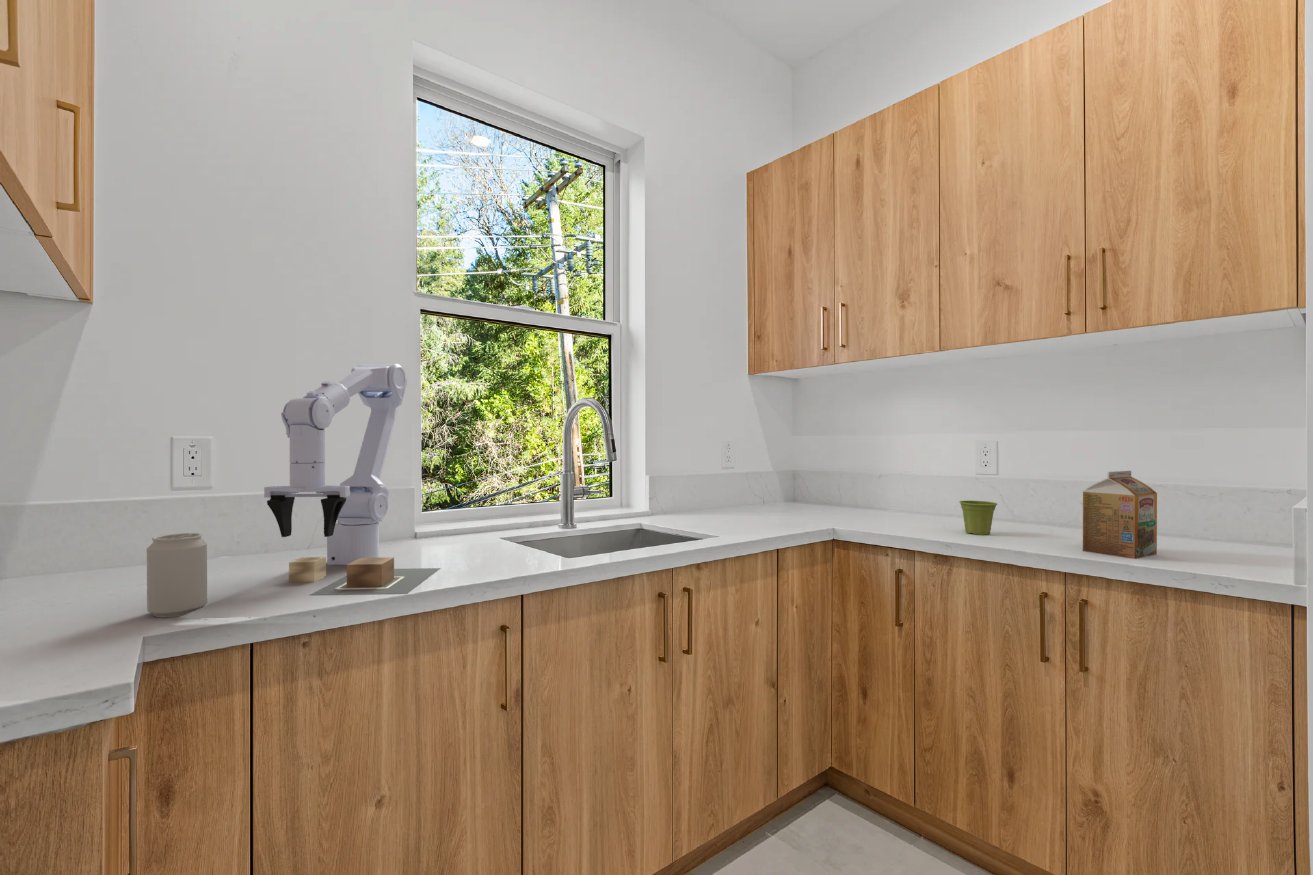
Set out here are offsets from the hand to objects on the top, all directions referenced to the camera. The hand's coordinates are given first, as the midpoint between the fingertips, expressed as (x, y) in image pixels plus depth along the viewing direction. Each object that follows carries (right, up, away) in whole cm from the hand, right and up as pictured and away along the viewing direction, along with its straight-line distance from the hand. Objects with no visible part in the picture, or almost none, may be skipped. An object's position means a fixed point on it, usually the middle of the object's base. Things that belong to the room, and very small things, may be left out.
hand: (307, 536), depth 116 cm
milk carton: (+173, -9, +30) cm, 175 cm away
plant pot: (+154, -9, +58) cm, 165 cm away
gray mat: (+14, -9, -1) cm, 17 cm away
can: (-10, -9, -19) cm, 23 cm away
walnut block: (+13, -8, -3) cm, 16 cm away
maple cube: (0, -9, 0) cm, 9 cm away
